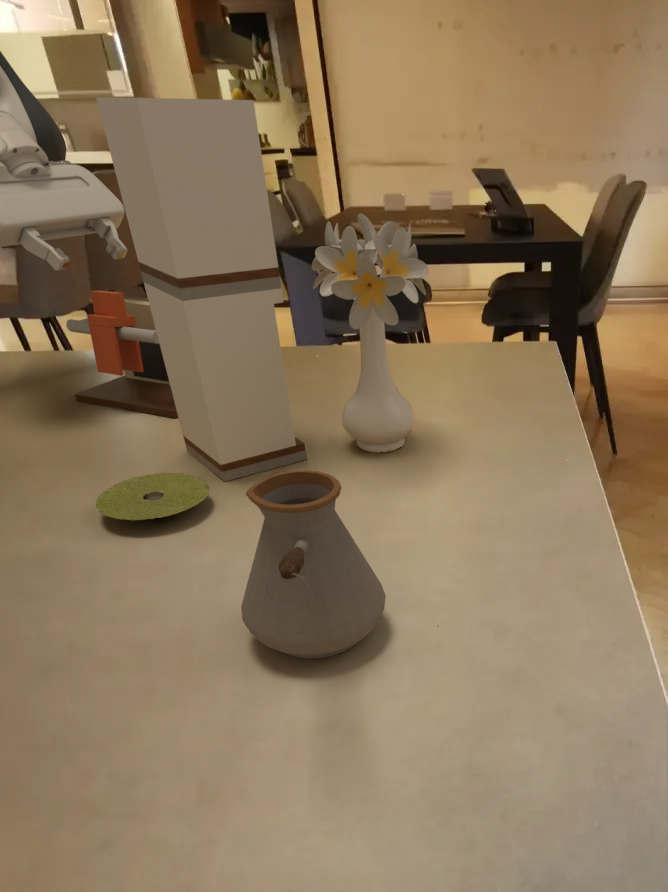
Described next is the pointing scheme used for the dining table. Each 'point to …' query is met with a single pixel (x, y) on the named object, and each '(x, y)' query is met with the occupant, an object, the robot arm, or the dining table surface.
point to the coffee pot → (307, 570)
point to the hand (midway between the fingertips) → (94, 260)
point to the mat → (152, 496)
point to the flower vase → (372, 322)
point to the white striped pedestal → (208, 272)
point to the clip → (112, 334)
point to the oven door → (134, 387)
